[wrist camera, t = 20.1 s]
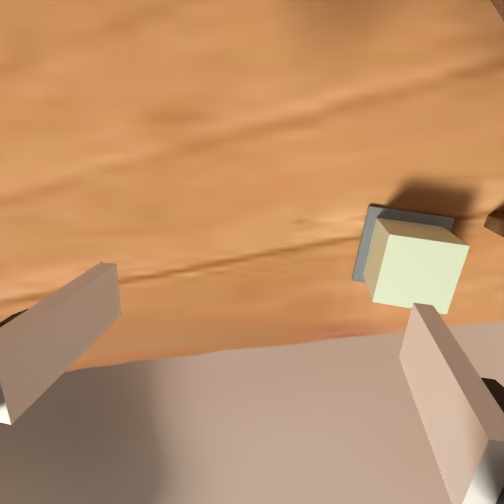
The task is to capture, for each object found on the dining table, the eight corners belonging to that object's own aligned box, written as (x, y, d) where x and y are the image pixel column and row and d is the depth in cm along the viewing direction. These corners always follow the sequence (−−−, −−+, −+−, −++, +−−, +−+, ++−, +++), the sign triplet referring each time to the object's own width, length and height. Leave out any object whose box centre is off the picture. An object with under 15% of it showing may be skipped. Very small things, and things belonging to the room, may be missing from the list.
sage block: (376, 217, 38) (389, 234, 32) (442, 226, 37) (469, 245, 31) (362, 274, 41) (372, 301, 34) (424, 284, 40) (446, 314, 33)
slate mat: (368, 205, 38) (369, 206, 38) (453, 217, 37) (455, 218, 37) (351, 278, 41) (352, 280, 41) (429, 291, 40) (430, 293, 40)
